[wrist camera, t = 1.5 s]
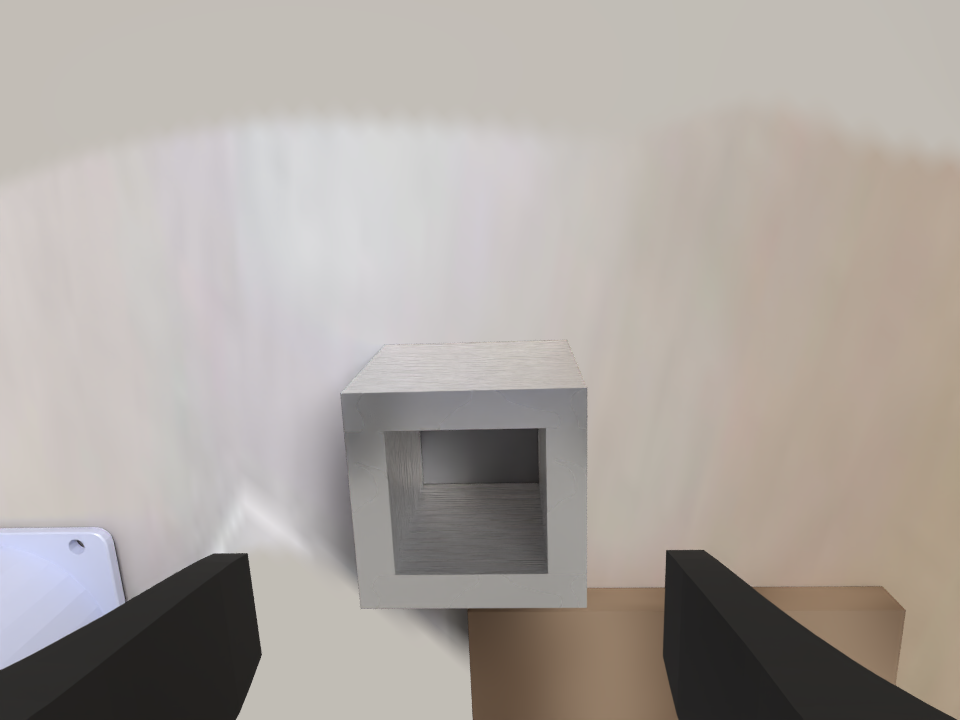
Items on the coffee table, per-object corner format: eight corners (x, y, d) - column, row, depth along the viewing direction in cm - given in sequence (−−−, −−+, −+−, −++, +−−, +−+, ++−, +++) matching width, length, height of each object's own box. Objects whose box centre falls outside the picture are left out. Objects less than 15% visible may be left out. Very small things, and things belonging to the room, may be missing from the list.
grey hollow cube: (397, 511, 20) (360, 608, 15) (384, 344, 19) (340, 393, 14) (568, 508, 20) (586, 607, 15) (567, 339, 18) (587, 387, 14)
